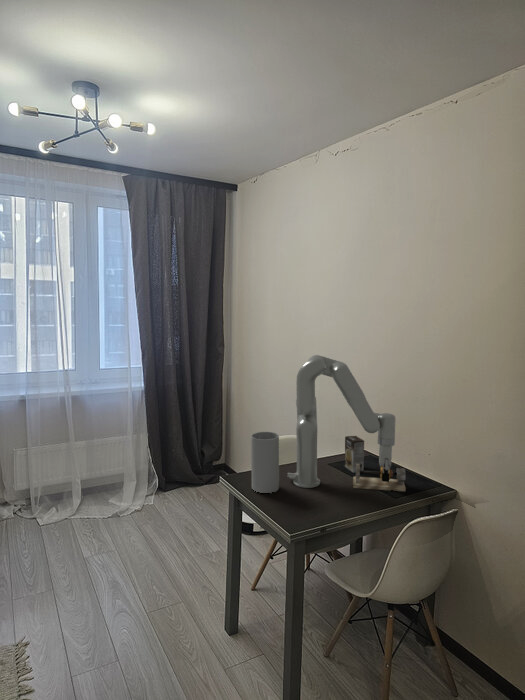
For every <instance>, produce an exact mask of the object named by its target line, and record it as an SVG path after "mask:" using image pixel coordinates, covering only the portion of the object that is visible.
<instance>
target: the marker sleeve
mask: <svg viewBox="0 0 525 700" xmlns="http://www.w3.org/2000/svg"><path fill="white" fill-rule="evenodd" d="M390 468H391V467H389V480H390V479H391V477H390V470H391V469H390ZM384 469H385V468H384ZM379 472H381V474H379V477H380V478H381V479H382V473H383V467H382V466H381V467H380V471H379Z"/></svg>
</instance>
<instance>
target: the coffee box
mask: <svg viewBox="0 0 525 700" xmlns="http://www.w3.org/2000/svg"><path fill="white" fill-rule="evenodd" d="M364 463H365V440H364V439H362V438H361V437H359V436H358V435H347V436H346V435H345V436H344V467H345V468H346V469H347V470H349V471H350V472H351V473H355V474H356V464H360V470H363V471H365V470H364V467H365V466H364V465H365V464H364Z"/></svg>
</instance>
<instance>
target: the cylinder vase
mask: <svg viewBox="0 0 525 700" xmlns="http://www.w3.org/2000/svg"><path fill="white" fill-rule="evenodd" d="M250 440H251V441H250V442H251V443H250V446H251V447H250V449H251V453H250V454H251V456H250V457H251V461H250V462H251V471H250V472H251V489H253V490H254V491H253V490H252V491H253V492H255V491H256V492H255V493H257V492H260V493H270V494H273V493H272V492H274V493H276V492H278V490H279V489H280V435H279V434H278V433H277V432H272V431H258V432H254V433H252V434H251V436H250ZM260 493H259V494H260Z"/></svg>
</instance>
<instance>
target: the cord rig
mask: <svg viewBox="0 0 525 700" xmlns="http://www.w3.org/2000/svg"><path fill="white" fill-rule="evenodd" d="M395 470H396V472H394V471H393V470H391V469H390V480H389V482H384V481H382V479H381V477H366V476H361V475H360V474H373V475H380V474H381V472H380V471H379V470H378V471H377V470H364V471H363V470H360V464H356V472H355V476H353V477H352V485H353V486H352V487H353V489H364V490H379V491H391V490H393V492H396V491H397V492H406V489H407V488H406V485H405V481H406V469H405V468H397V467H396V469H395ZM393 476H395V479H394V478H392V477H393Z"/></svg>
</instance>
